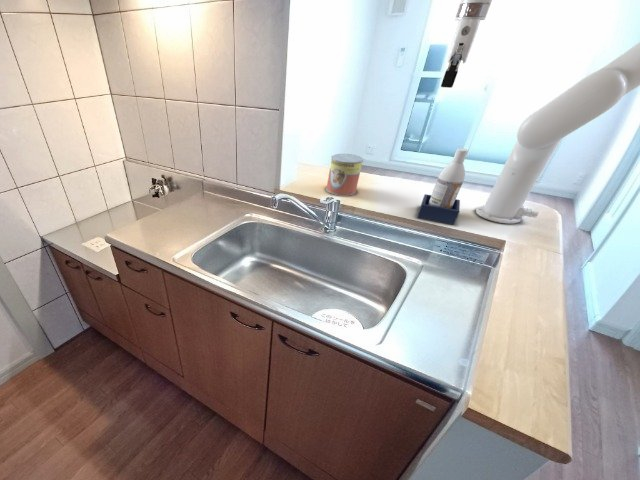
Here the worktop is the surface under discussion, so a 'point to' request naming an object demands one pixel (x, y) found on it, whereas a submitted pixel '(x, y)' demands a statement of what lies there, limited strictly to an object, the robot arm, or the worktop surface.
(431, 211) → the holder
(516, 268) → the worktop surface
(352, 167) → the canned food
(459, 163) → the bath foam
